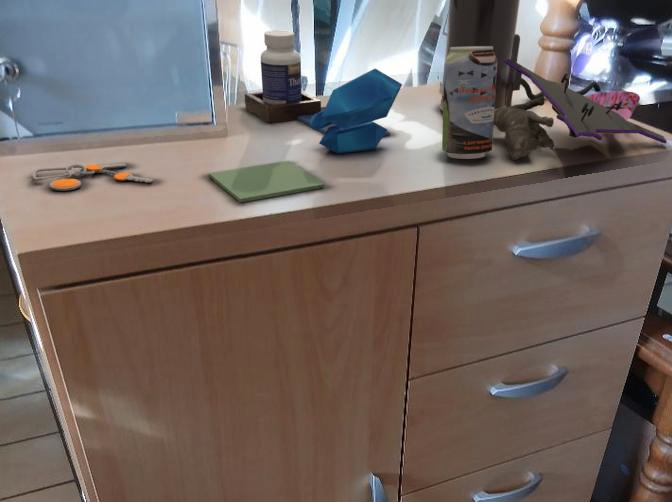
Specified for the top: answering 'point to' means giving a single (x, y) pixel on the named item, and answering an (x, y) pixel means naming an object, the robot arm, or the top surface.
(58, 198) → the top surface
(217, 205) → the top surface
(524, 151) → the dog figurine
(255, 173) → the mat
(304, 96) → the holder
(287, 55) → the pill bottle
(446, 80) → the beverage can
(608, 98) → the headband
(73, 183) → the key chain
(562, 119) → the toy airplane
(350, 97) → the blue faceted sculpture
